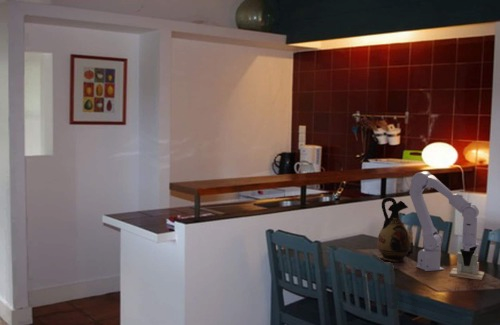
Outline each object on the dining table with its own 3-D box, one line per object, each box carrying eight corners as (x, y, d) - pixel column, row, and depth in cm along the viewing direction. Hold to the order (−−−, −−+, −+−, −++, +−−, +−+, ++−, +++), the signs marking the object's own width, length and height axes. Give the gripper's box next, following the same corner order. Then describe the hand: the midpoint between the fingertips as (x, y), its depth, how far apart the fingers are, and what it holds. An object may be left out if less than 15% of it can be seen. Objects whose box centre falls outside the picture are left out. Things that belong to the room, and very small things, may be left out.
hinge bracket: (481, 279, 246) (482, 268, 246) (449, 275, 252) (450, 264, 252) (484, 274, 255) (484, 262, 255) (453, 270, 261) (453, 259, 261)
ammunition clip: (393, 253, 291) (394, 229, 290) (391, 252, 293) (392, 228, 292) (413, 252, 293) (414, 229, 292) (411, 251, 295) (412, 228, 294)
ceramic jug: (406, 256, 285) (409, 195, 283) (412, 264, 270) (415, 200, 267) (371, 254, 287) (373, 194, 284) (375, 262, 272) (377, 199, 269)
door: (476, 273, 252) (477, 255, 251) (456, 271, 256) (457, 253, 255) (477, 271, 255) (478, 253, 254) (457, 269, 259) (458, 251, 258)
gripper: (477, 237, 245) (475, 269, 246) (481, 231, 258) (479, 261, 259) (459, 235, 248) (458, 266, 250) (464, 229, 261) (462, 259, 262)
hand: (468, 263), depth 255 cm, fingers open, 7 cm apart
